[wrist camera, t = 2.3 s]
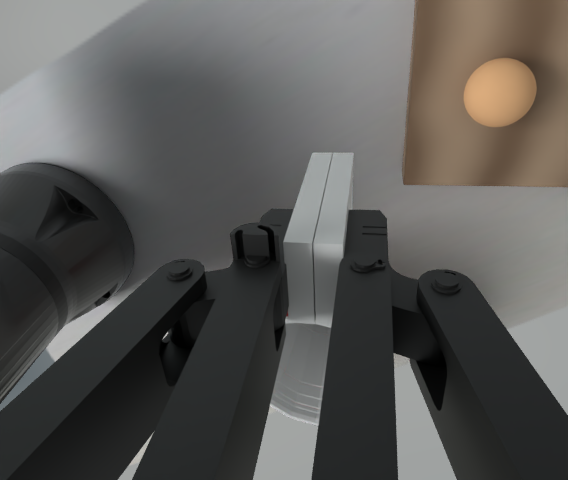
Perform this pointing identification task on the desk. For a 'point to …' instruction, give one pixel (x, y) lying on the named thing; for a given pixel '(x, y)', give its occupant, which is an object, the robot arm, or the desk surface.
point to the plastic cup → (302, 371)
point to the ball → (500, 92)
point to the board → (451, 84)
